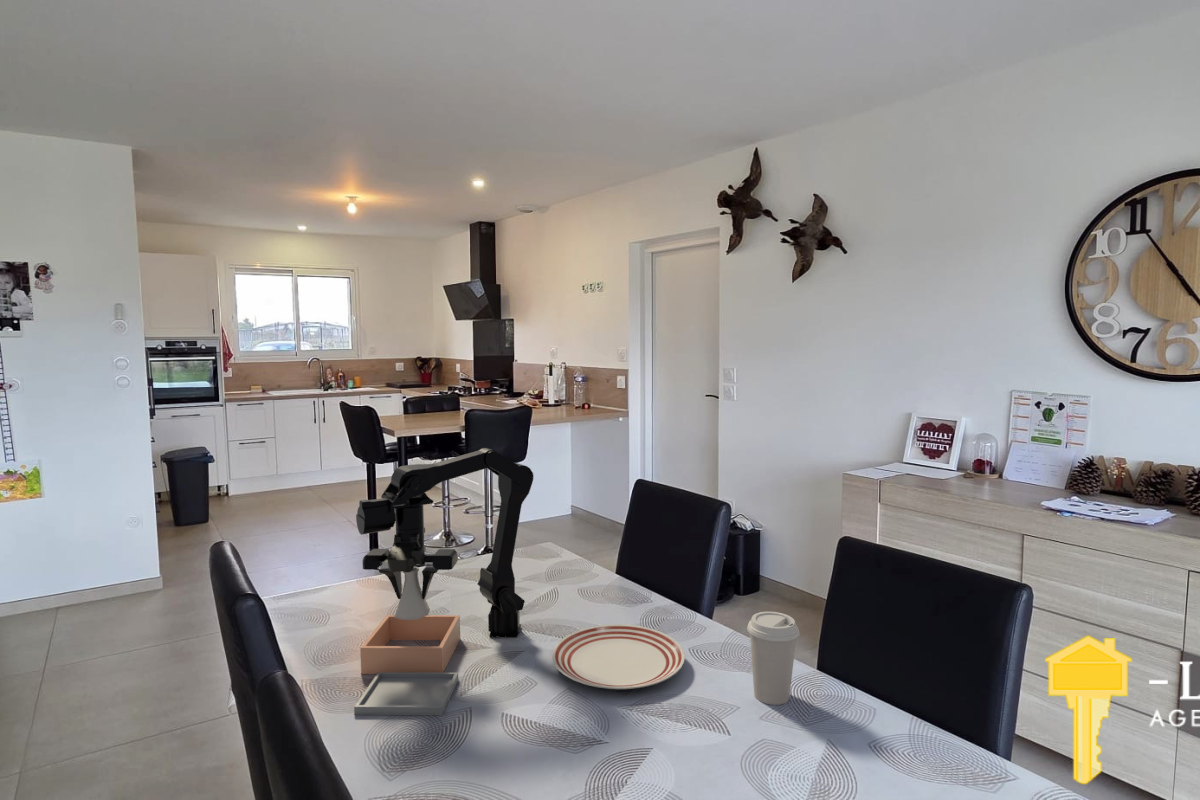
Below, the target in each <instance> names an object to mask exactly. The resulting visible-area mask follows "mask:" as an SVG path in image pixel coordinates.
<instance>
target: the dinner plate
mask: <svg viewBox="0 0 1200 800" xmlns="http://www.w3.org/2000/svg"><path fill="white" fill-rule="evenodd" d="M551 656H552V657H551V658H552V662H553V665H554V666H555V668H556V669H557V670H558V671H559V673H561V674H562V675H564V676H565V677H567V678H568V679H570V680H572V681H575V682H577V683H580V684H582V685H585V686H590V687H594V688H599V689H608V690H631V689H633V690H634V689H641V688H645V687H646V688H647V687H650V686H655V685H658V684H659V683H662V682H664V681H666V680H669V679H670V678H672V677H673V676H674V675H675V674H677V673H678V672H680V670H681V669H682V667H683V666H684V663H685V659H686V655H685V651H684V649H683V647H682V646H681V645H680V643H679V642H678V641H677V640H676V639H674V638H673V637H671V636H670V635H668V634H666V633H664V632H661V631H659V630H658V629H653V628H650V627H647V626H641V625H633V624H618V623H617V624H605V625H604V624H602V625H596V626H591V627H585V628H582V629H579V630H576V631H573V632H571V633H570V634H568V635H566V636H564V637H563V638H562V639H560V641H558V642H557V643H556V645H555V646H554V648H553V650H552V655H551Z"/></svg>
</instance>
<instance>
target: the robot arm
mask: <svg viewBox="0 0 1200 800" xmlns="http://www.w3.org/2000/svg"><path fill="white" fill-rule="evenodd" d="M485 469H487V470H489V471H490V472H492V473H493V474H495V475H496V476H497V479H498V480H497V481H498V483H497V488H498V491H499V497H500V507H499V513H498V517H497V525H496V529H495V537H494V541H493V546H492V547H493V548H492V555H491V560H490V563H488V566H487V567H486V568H484V567H481V568H480V570H479V580H478V582H477V583H476V584H477V585H478V586H479V592H480V594H481V596H483V597H484V598H485V599H486V601H487V602H488V604H491V607H490V610H489V612H488V614H487V615H488V616H487V618H488V619H487V620H488V621H487V622H488V632H490V633H489V638H518V637H519V635H520V631H521V628H522V624H521V622H520V616H521V615H520V611H522V610H524V609H523V608H524V605H525V600H524V599H523V598H522V597H521V596H520V595H519V594H517V593H516V579H515V573H514V571H513V570H514V569H513V561H514V552H515V547H516V542H517V534H518V528H519V523H520V517H521V511H522V505H523V503H524V501H525V500H526V498H527V497H528V495H529V494H530V491H531V488H532V485H533V481H534V472H533V471H532V469H531V468H530V467H529V466H527V465H524V464H521V463H518V462H514V461H512V460H510V459H508V458H506V457H504V456H503V455H502V454H500V453H499V452H497V450H494V449H491V448H488V447H482V448H480V449H479V450H475V451H473V452H469V453H465V454H462V455H458V456H456V457H451V458H449V459H445V460H441V461H438V462H434V463H421V464H408V465H407V464H406V465H401V466H398V467H397V468H395V469H394V471H393V473H392V474H391V478H390V482H389V484H388V485H387V486H386V488H385V490H384V491H383V493H382V494H381V496H380V497H381V498H377V499H376V498H375V499H361V500H359V502H358V504H359V506H357V507H358V508H357V514H355V519H356V520H355V521H356V527H357V530H358V532H359V534H360V535H363V536H364V535H367V534H368V535H369V534H375V533H380V532H386V531H391V529H392V528H395V534H394V535H393V544H392V547H391V549H389V548H372V549H371V550H370V551H369V552H368V553H366V554H365V555H364V556H363V558H362V569H363V570H366V571H367V570H368V571H371V570H372V571H373V570H375V571H376V570H378V569H379V570H378V573H380V574H383V575H385V576H386V577H387V578H388V580H389V582H390V584H391V586H392V588H393V590H394V593H395V595H396V597H397V599H398V600H400V598H401V595H402V592H403V585H402V584H403V583H402V573H403V572H411V571H412V570H413V568H414V567H415V566H417V565H423V564H424V566H425V567H424V568H423V570H422V571H421V573H422V588H421V590H422V598H423V599H426V597H427V595H428V591H429V589H430V586H431V583H432V580H433V577H434V575H435V574H437V573H438V571H450V570H452V569H453V568H454V567H455V565H456V564H457V563H458V561H459V559H458V557H459V555H458V551H456V549H455V548H451V549H450V548H440V549H439V548H438V549H437V550H436V552H435V553H429V554H428V553H425V552H426V551H427V550H426V546H425V533H426V527H425V522H424V521H425V520H424V519H425V518H424V514H425V513H424V506H426V505H431V504H433V503H434V499H431V498H430V497H429V496H428V495H427V493H426V492H428V491H431V490H432V489H433V488H435V487H436V486H437V485H439V484H440V483H442V482H447V481H448V480H453V479H456V478H458V477H462V476H466V475H470V474H472V473H475V472H479V471H482V470H485ZM394 526H395V527H394ZM477 585H476V586H477Z"/></svg>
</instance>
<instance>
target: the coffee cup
mask: <svg viewBox="0 0 1200 800" xmlns="http://www.w3.org/2000/svg"><path fill="white" fill-rule="evenodd" d="M746 629H747V632H748V633H749V638H750V641H749V642H750V652H751V655H750V656H751V664H752V665H751V668H752V682H753V692H754V693H753V694H754V697H755V699H757V700H758V701H759V702H761V703H763V704H767V705H770V706H772V705H773V706H780V705H784V704H786V703H788V702H789V701H790V697H791V696H790V695H791V694H790V693H791V689H792V688H791V686H792V680H793V679H792V678H793V668H794V660H795V652H796V643H797V638H798V637H799V636H800V630H799V627H798V625H797V624H796V620H795V618H793V617H792V616H790V615H789V614H786V613H783V612H778V611H761V612H757V613H755V614H753V615H752V616H751V619H750V620H749V622H748V624H747V627H746Z"/></svg>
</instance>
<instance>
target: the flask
mask: <svg viewBox="0 0 1200 800" xmlns="http://www.w3.org/2000/svg"><path fill="white" fill-rule="evenodd" d="M419 570H420V568H419V567H418V566H414V568H413V570H412V571H411V572H402V573H403V574H404V583H403V587H402V595H401V598H400V599H399V602H398V605H397V609H396V612H395V613H394V615H395V618H398V619H401V620H418V619H420V618H422V617H425V616H427V615H429V613H430V611H431V609H430V606H429V604H428V602H427V600H426V598H425V599H423V598H422V588H421V585H420V580H419V573H418V572H419Z"/></svg>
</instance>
